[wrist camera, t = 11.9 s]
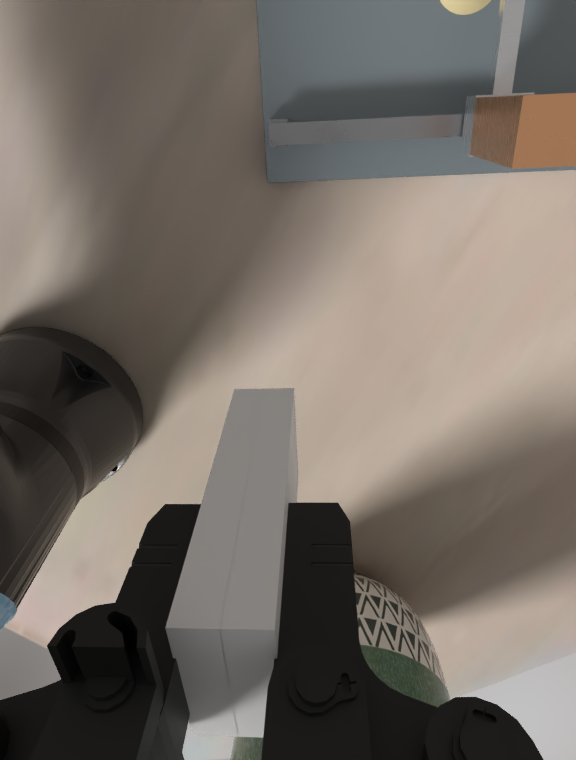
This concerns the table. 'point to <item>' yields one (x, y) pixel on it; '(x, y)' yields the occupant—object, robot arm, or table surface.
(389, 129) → the rail
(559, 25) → the gauge board
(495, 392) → the table surface
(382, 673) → the planter
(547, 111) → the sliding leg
